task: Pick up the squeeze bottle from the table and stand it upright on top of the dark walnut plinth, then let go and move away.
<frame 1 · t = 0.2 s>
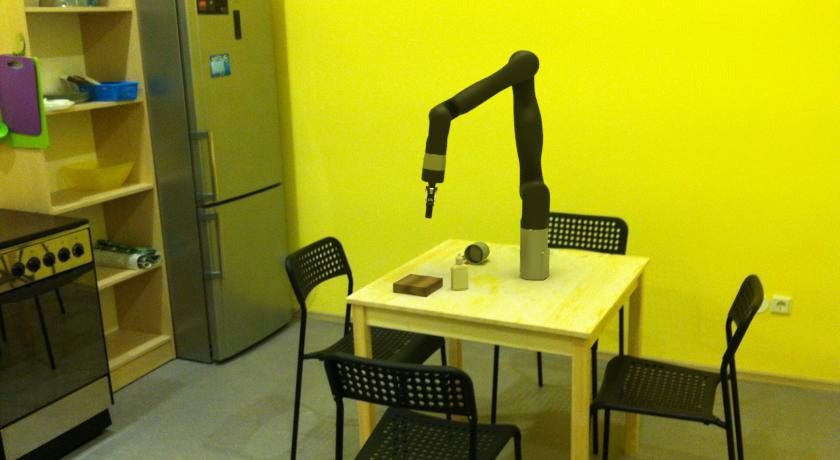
hand: (428, 215, 269), 22 cm above the table, tool pointing down, fingers open, 8 cm apart
walnut plinth: (418, 289, 263), on the table
squeeze bottle: (459, 289, 263), on the table
ceramic mug: (473, 262, 295), on the table
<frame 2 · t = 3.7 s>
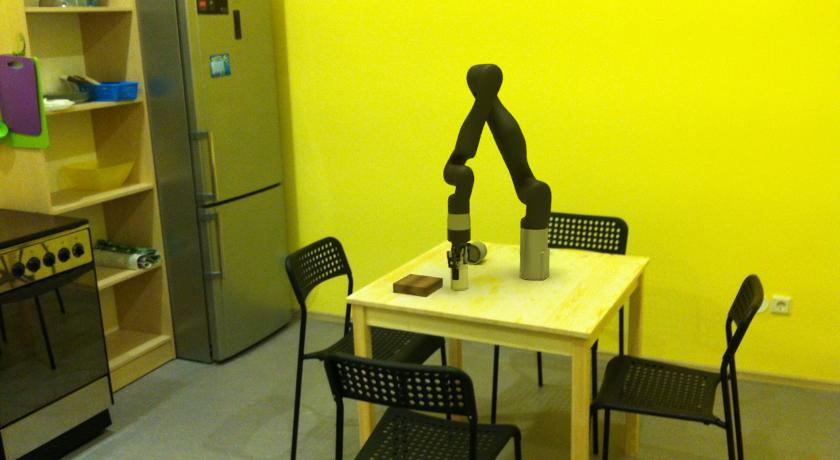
hand: (459, 277, 262), 4 cm above the table, tool pointing down, fingers closed on squeeze bottle, 5 cm apart
squeeze bottle: (459, 289, 263), on the table, touching gripper
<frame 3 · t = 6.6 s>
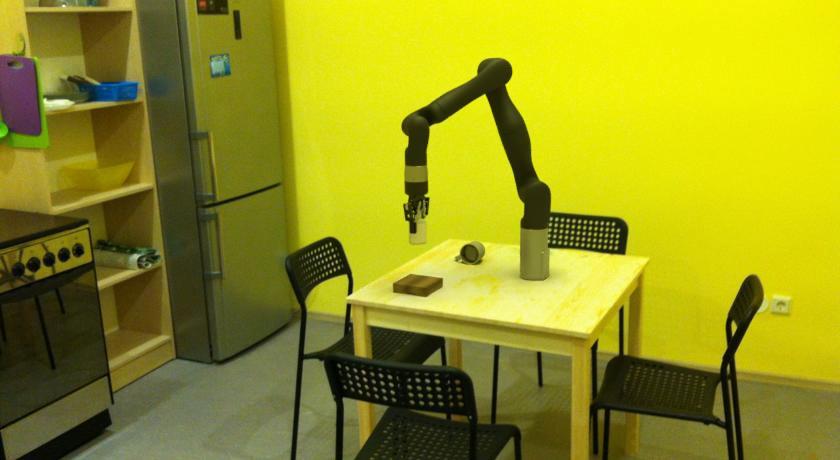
hand: (417, 231, 259), 19 cm above the table, tool pointing down, fingers closed on squeeze bottle, 5 cm apart
squeeze bottle: (417, 244, 260), point 15 cm above the table, touching gripper
when the fingers open (8 cm above the table, at t = 9.4 s): squeeze bottle drops 1 cm, resting on walnut plinth.
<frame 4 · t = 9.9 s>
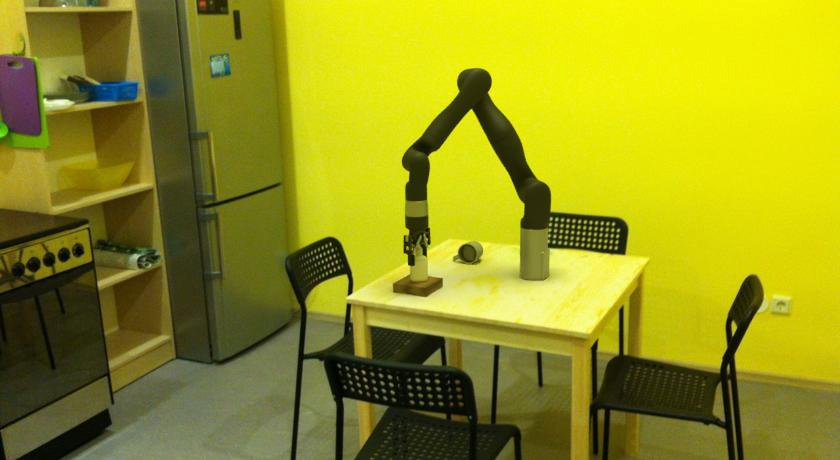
hand: (417, 262, 261), 9 cm above the table, tool pointing down, fingers open, 8 cm apart
squeeze bottle: (419, 281, 263), point 3 cm above the table, touching walnut plinth
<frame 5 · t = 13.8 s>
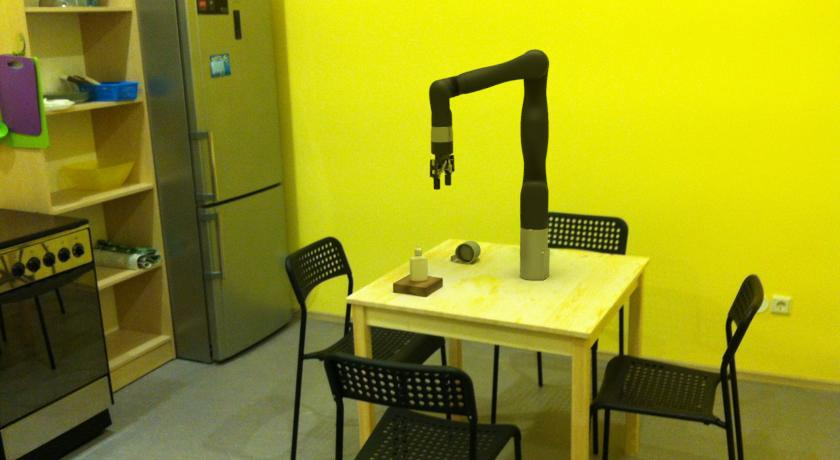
hand: (442, 187, 275), 30 cm above the table, tool pointing down, fingers open, 8 cm apart
at the end: squeeze bottle inside the target area on the walnut plinth (0.4 cm from its centre), point 2.8 cm above the walnut plinth's base; squeeze bottle tilted 0°; the gripper is holding nothing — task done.
